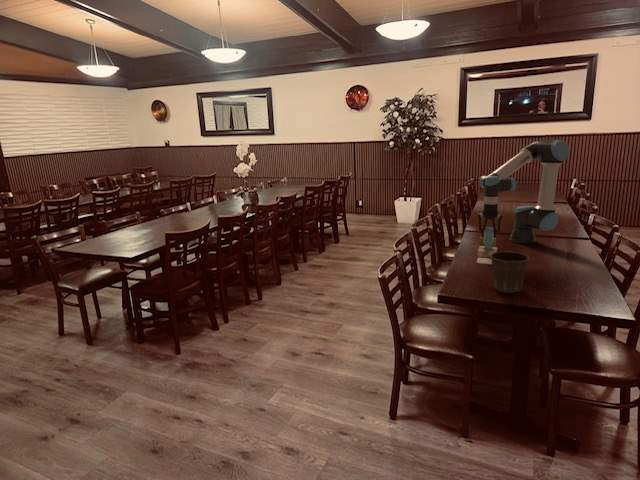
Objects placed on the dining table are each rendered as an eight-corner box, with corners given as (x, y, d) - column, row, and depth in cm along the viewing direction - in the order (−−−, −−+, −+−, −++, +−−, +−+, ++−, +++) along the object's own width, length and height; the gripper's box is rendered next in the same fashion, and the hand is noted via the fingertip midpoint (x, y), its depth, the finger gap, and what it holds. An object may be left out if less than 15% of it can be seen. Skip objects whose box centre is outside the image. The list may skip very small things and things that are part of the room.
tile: (494, 260, 239) (494, 259, 238) (493, 264, 231) (493, 263, 231) (478, 258, 242) (478, 257, 242) (476, 263, 234) (476, 262, 234)
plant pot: (488, 293, 193) (490, 260, 189) (488, 281, 207) (490, 250, 203) (527, 297, 187) (530, 262, 183) (524, 284, 202) (527, 252, 197)
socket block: (496, 253, 250) (497, 247, 249) (495, 258, 241) (496, 251, 240) (479, 252, 254) (479, 245, 253) (477, 256, 245) (478, 250, 244)
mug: (488, 250, 249) (488, 234, 251) (475, 252, 259) (475, 236, 260) (503, 251, 255) (502, 235, 256) (490, 252, 264) (489, 237, 265)
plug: (492, 250, 248) (493, 227, 244) (491, 252, 244) (493, 229, 240) (484, 249, 250) (485, 227, 246) (483, 251, 246) (485, 228, 242)
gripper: (474, 204, 240) (472, 243, 246) (506, 205, 233) (503, 245, 239) (475, 201, 246) (473, 239, 252) (507, 202, 239) (504, 242, 245)
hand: (488, 242), depth 245 cm, fingers closed on plug, 4 cm apart
